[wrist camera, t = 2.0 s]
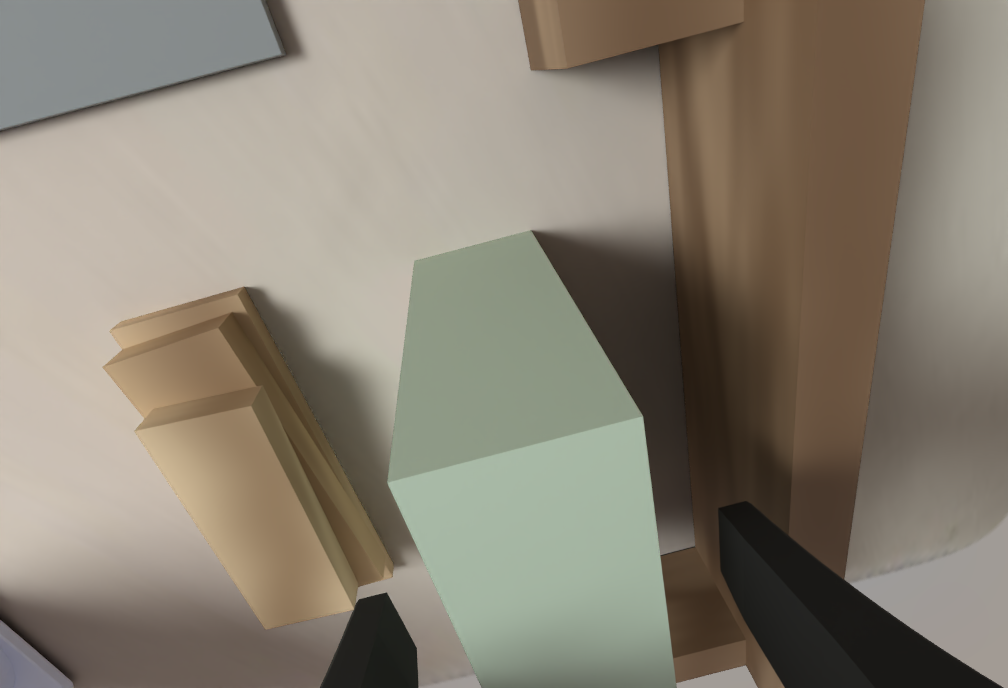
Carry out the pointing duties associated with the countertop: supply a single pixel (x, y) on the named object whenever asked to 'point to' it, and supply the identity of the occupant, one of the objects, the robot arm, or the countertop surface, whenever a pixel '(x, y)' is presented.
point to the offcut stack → (247, 457)
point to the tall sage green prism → (527, 477)
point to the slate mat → (120, 49)
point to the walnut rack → (765, 258)
